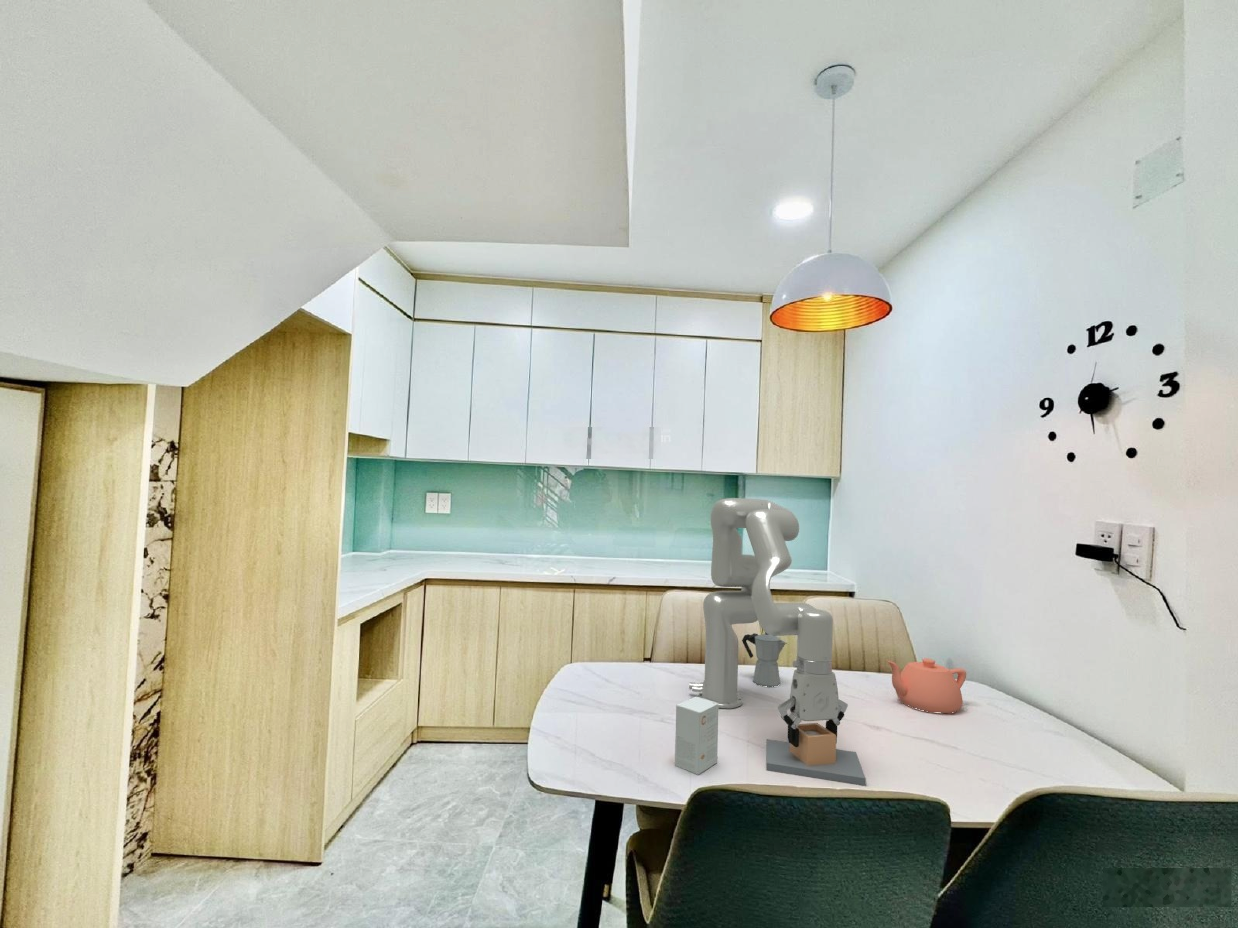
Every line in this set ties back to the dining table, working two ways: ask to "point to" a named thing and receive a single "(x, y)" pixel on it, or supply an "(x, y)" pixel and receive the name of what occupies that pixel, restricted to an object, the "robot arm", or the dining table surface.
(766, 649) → the coffee maker
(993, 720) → the dining table surface
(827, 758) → the collar
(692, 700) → the small box
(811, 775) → the grey plate with peg
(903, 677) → the teapot
